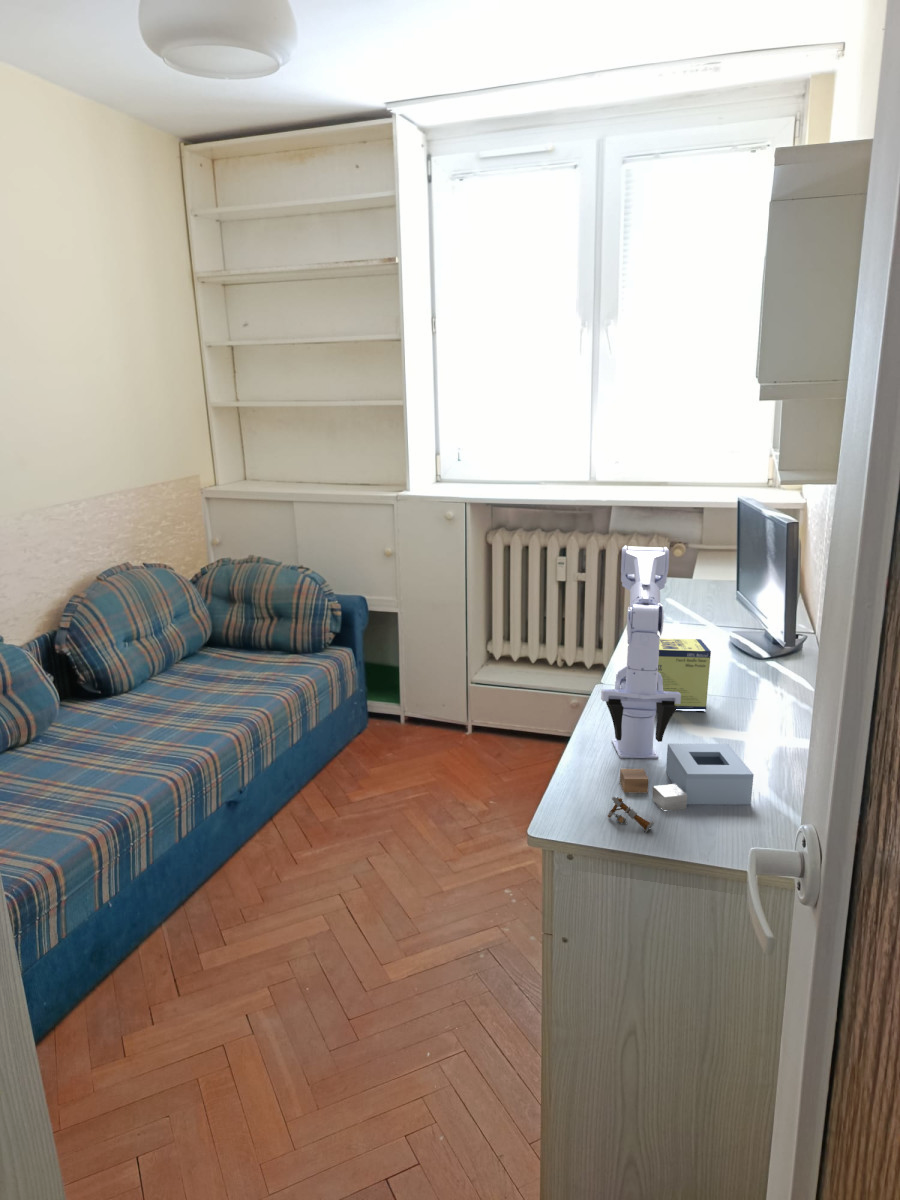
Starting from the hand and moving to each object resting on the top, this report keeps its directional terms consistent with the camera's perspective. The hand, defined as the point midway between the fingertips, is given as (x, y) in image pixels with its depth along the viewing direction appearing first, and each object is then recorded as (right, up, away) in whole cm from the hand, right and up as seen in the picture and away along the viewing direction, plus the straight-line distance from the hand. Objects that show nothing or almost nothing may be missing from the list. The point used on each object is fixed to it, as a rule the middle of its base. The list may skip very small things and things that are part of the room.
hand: (638, 739), depth 154 cm
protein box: (+19, 0, +48) cm, 51 cm away
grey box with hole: (+14, -10, +3) cm, 17 cm away
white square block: (+5, -11, -4) cm, 13 cm away
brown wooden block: (0, -10, +3) cm, 10 cm away
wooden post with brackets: (-4, -13, -12) cm, 18 cm away
